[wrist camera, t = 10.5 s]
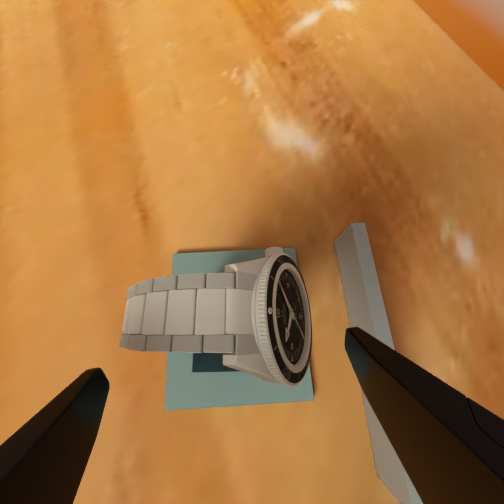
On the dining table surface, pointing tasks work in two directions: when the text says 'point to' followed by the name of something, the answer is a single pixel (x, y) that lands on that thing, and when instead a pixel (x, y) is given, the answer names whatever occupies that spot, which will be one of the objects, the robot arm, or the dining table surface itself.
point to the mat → (222, 383)
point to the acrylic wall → (376, 324)
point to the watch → (227, 318)
